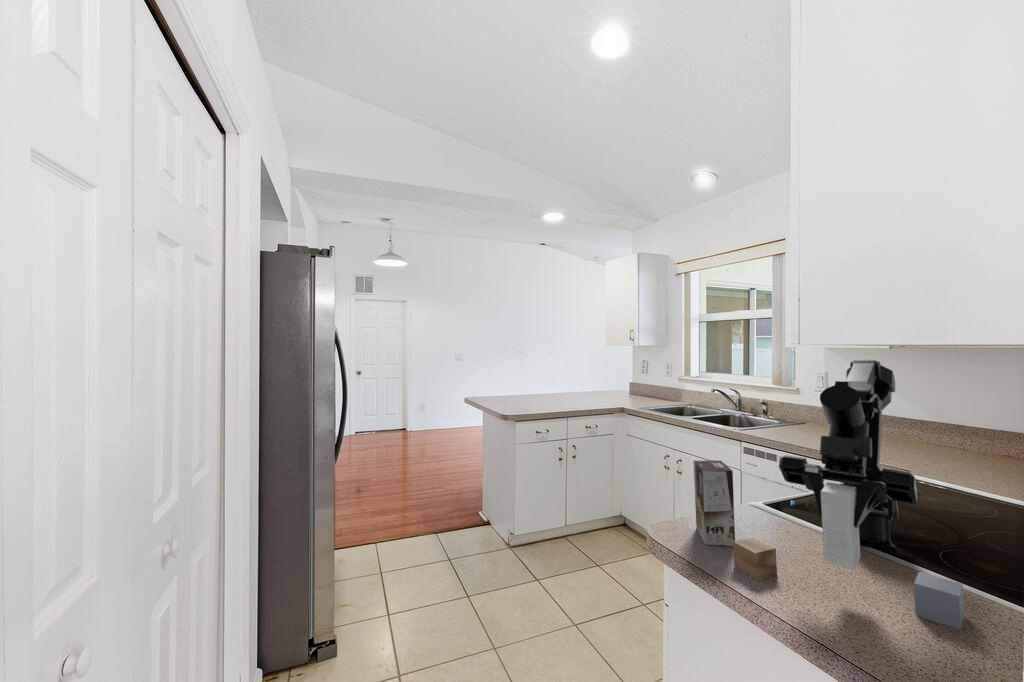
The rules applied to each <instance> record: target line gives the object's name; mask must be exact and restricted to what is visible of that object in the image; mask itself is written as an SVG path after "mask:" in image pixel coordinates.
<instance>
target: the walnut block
mask: <svg viewBox="0 0 1024 682" xmlns="http://www.w3.org/2000/svg"><path fill="white" fill-rule="evenodd" d="M733 545H734V546H733V563H734V564H733V565H734V566H733V567H734V568H735V567H736V568H737V569H736V568H735V569H736V570H738V569H739V570H738V571H740V570H741V571H742V572H741V571H740V572H741V573H743V572H744V573H743V574H745V575H747V576H748V575H749V576H748V577H750V576H751V577H750V578H752V577H753V578H752V579H754V580H755V579H756V580H755V581H759V580H763V579H767V578H770V576H771V577H774V576H777V575H778V570H777V569H778V567H777V547H774V546H772V545H770V544H768V543H766V542H764V541H761V540H760V539H757V538H755V537H749V538H744V539H740V540H735V542H733ZM766 577H767V578H766ZM762 578H763V579H762ZM758 579H759V580H758Z"/></svg>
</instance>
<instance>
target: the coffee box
mask: <svg viewBox="0 0 1024 682" xmlns="http://www.w3.org/2000/svg"><path fill="white" fill-rule="evenodd" d="M693 480H694V481H693V483H694V484H693V485H694V502H695V503H694V504H695V522H696V523H695V524H696V530H697V532H698V534H699V535H700V537H701V540H702V541H703V543H704V544H705V546H706V545H710V546H721V545H724V546H725V547H734V545H733V542H735V541H736V532H735V531H736V529H735V525H736V524H735V506H734V503H735V502H734V501H735V500H734V471H733V470H732V469H731V468H730V467H729V466H728V465H727V464H725V463H724V462H723V461H722V460H712V459H711V460H693ZM724 546H723V547H724Z"/></svg>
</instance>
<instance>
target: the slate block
mask: <svg viewBox="0 0 1024 682" xmlns="http://www.w3.org/2000/svg"><path fill="white" fill-rule="evenodd" d="M913 589H914V591H913V592H914V614H916V616H918V617H922V618H924V619H927V620H930V621H934V622H936V621H937V622H936V623H939V622H940V624H942V623H943V625H945V624H946V626H948V625H949V626H948V627H951V628H954V629H958V630H962V628H963V623H964V618H965V605H964V604H965V601H964V584H963V583H961V582H958V581H953V580H949V579H947V578H944V577H943V578H942V577H940V576H936V575H933V574H928V573H925V572H923V571H918V573H917V575H916V578H915V580H914V582H913Z"/></svg>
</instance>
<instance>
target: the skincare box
mask: <svg viewBox="0 0 1024 682" xmlns="http://www.w3.org/2000/svg"><path fill="white" fill-rule="evenodd" d="M824 486H825V487H824V488H823V489H822V490H821V510H822V520H821V528H822V546H823V561H824V563H827V564H831V565H835V566H837V567H841V568H846V569H849V570H856V568H857V565H858V562H859V561H860V558H861V545H860V539H859V527H858V528H856V527H854V515H855V510H856V506H857V502H858V501H857V488H856V487H853V486H847V485H841V484H840V483H834V482H827V483H826V484H824Z"/></svg>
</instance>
